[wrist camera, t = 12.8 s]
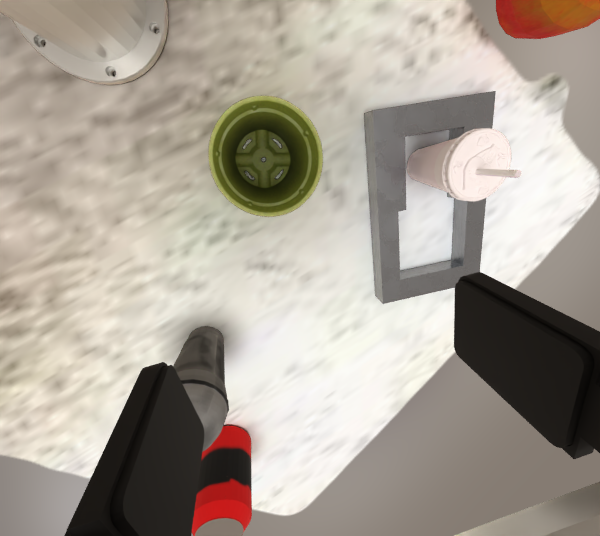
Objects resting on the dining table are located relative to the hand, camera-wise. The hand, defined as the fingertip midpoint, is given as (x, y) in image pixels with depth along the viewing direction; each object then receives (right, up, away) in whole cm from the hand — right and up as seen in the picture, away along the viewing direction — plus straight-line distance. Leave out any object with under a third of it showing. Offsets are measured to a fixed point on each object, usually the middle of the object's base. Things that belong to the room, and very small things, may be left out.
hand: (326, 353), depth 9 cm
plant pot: (-5, +15, +23) cm, 28 cm away
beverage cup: (-13, -7, +29) cm, 33 cm away
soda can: (-12, -25, +36) cm, 46 cm away
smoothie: (+14, +15, +26) cm, 33 cm away
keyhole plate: (+15, +11, +27) cm, 33 cm away
